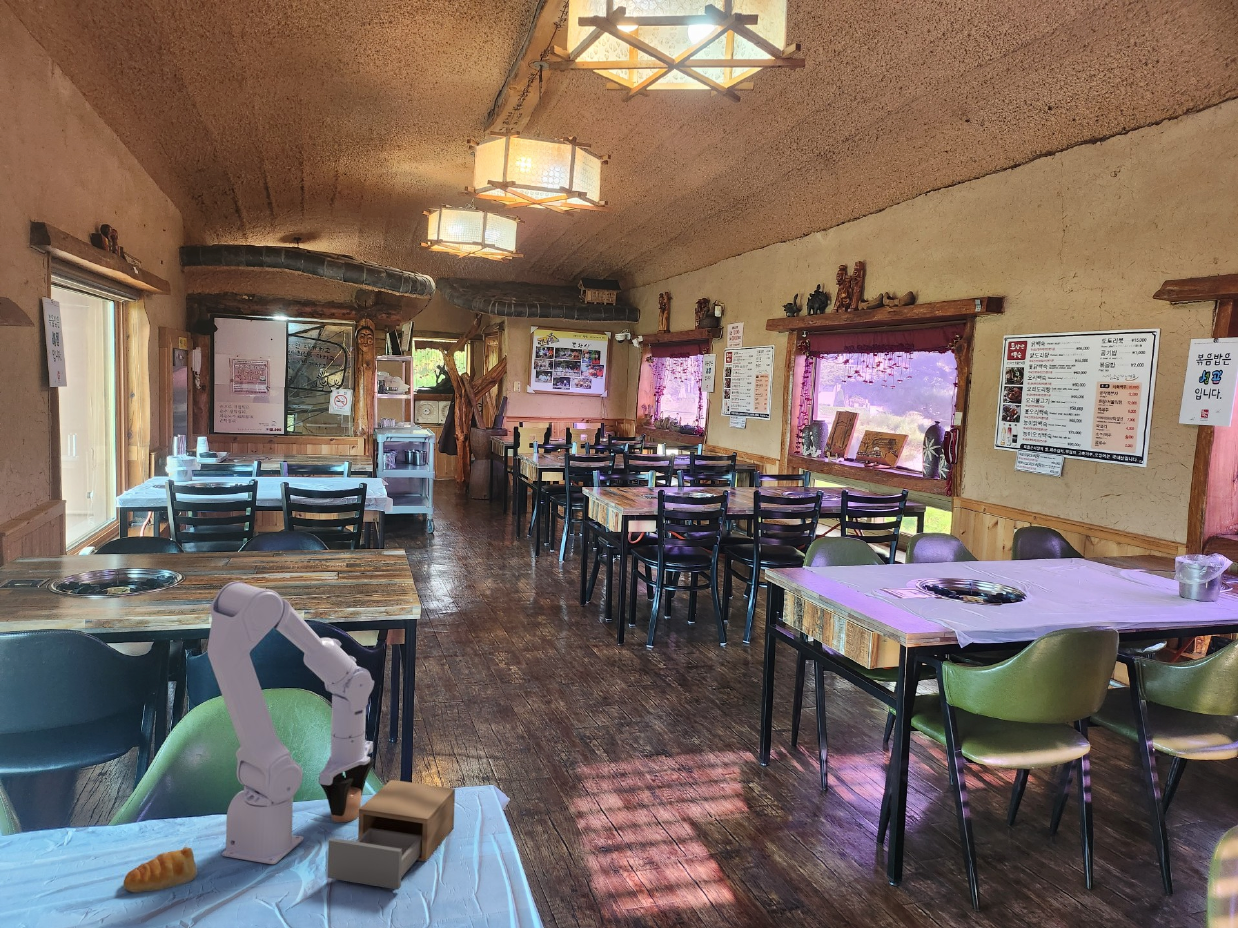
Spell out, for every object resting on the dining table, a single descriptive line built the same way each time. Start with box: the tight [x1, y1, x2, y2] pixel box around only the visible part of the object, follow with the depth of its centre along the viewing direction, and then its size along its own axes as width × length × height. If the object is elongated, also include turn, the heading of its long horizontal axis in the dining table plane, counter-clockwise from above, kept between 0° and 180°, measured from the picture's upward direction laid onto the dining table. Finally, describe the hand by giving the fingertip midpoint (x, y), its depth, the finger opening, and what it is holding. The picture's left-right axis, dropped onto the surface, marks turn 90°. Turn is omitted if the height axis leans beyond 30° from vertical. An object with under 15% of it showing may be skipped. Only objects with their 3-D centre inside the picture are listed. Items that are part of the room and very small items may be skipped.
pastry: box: [123, 846, 198, 894], centre depth 118 cm, size 9×7×4 cm
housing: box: [357, 779, 456, 863], centre depth 133 cm, size 11×12×7 cm
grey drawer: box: [327, 828, 422, 890], centre depth 124 cm, size 11×12×6 cm
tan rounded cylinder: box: [330, 787, 362, 823], centre depth 140 cm, size 5×5×4 cm
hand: (346, 807), depth 140 cm, fingers closed on tan rounded cylinder, 5 cm apart
